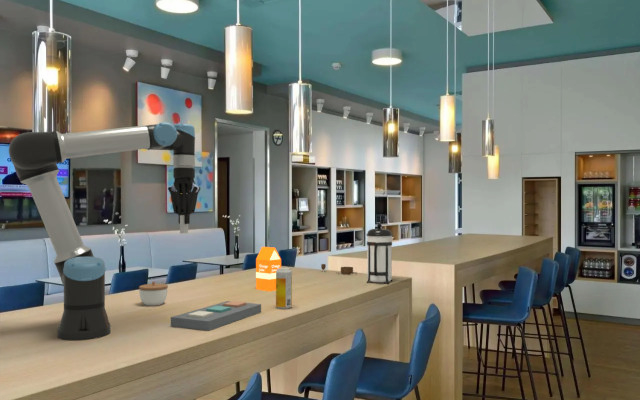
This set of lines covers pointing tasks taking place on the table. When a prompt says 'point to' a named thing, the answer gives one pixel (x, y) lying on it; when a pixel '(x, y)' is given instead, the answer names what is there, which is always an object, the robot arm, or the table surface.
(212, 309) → the teal button
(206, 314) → the cream button
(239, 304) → the terracotta button
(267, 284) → the orange juice
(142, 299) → the lidded jar
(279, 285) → the beer can
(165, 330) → the table surface
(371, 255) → the coffee press
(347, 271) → the place setting
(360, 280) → the table surface
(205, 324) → the panel
